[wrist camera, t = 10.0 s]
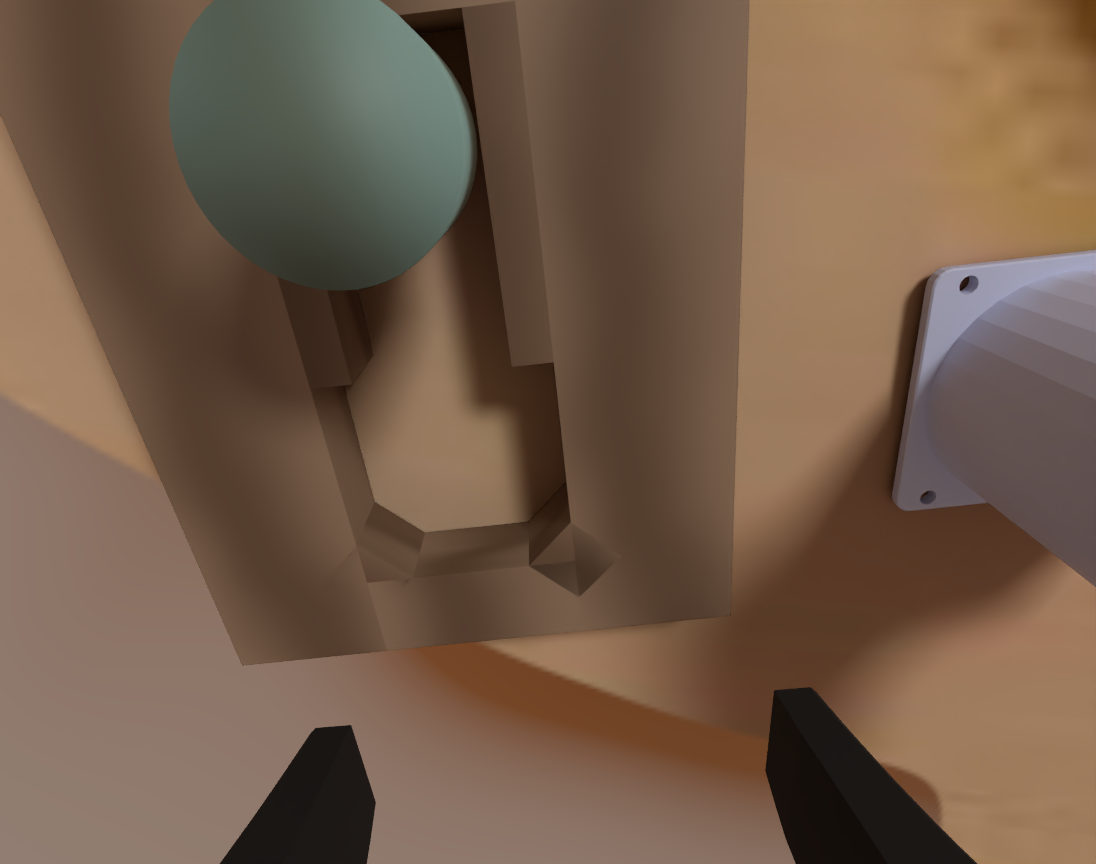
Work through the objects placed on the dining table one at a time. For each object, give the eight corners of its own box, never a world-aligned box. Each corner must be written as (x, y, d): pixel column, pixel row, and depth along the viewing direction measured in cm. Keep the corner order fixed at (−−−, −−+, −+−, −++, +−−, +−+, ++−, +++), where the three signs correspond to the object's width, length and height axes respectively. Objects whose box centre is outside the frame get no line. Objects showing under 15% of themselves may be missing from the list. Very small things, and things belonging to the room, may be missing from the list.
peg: (473, 34, 15) (433, -48, 8) (500, 224, 17) (483, 274, 10) (294, 58, 15) (119, -7, 8) (341, 244, 17) (226, 304, 10)
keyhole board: (720, -299, 12) (761, -393, 10) (710, 568, 22) (730, 615, 20) (-49, -199, 13) (-169, -269, 10) (270, 614, 22) (242, 665, 20)
